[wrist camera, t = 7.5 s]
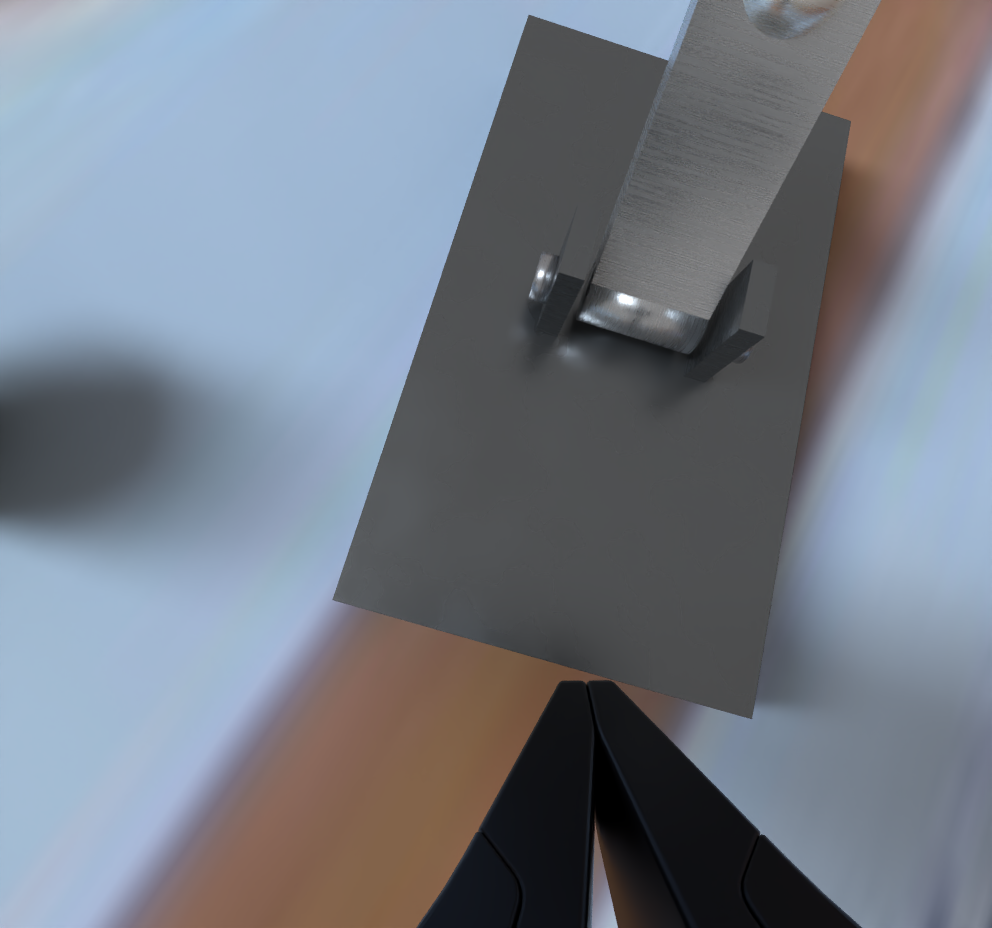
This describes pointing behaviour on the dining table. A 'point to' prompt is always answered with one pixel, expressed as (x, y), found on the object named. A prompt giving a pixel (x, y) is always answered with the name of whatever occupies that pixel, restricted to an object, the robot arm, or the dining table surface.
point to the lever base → (596, 409)
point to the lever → (714, 158)
